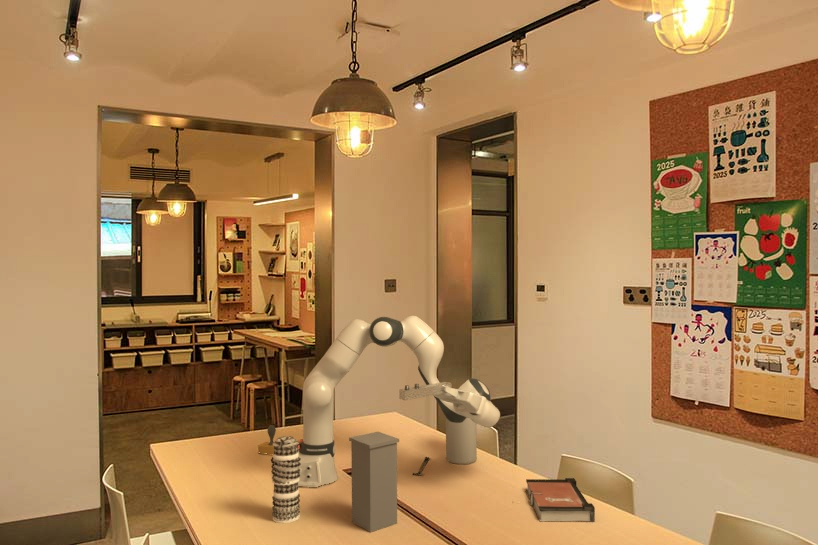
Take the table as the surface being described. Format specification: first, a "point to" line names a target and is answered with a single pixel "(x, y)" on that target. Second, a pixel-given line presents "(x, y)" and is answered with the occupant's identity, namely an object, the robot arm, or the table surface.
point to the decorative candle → (285, 480)
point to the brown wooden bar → (422, 390)
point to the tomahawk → (422, 467)
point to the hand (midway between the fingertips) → (440, 387)
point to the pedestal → (374, 480)
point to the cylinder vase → (461, 442)
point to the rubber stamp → (268, 446)
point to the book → (559, 501)
